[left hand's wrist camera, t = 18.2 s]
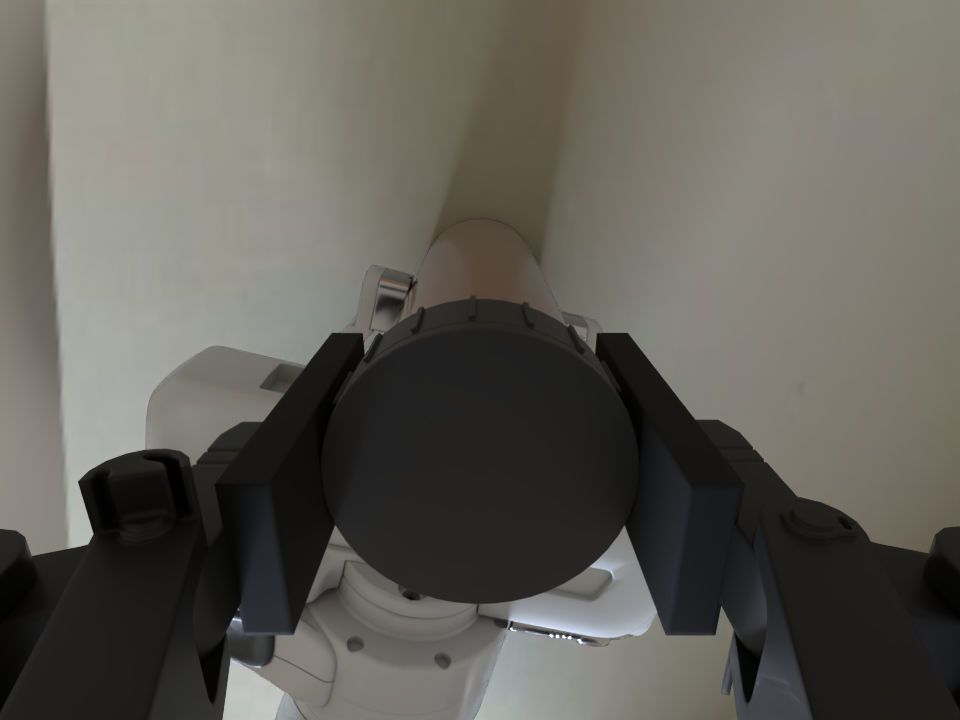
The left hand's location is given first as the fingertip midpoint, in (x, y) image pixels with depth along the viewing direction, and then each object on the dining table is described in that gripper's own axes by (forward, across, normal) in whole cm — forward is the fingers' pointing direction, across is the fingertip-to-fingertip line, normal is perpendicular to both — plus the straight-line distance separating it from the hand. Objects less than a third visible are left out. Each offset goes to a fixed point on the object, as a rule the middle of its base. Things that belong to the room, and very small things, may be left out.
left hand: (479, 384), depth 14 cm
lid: (-4, 0, 0) cm, 4 cm away
